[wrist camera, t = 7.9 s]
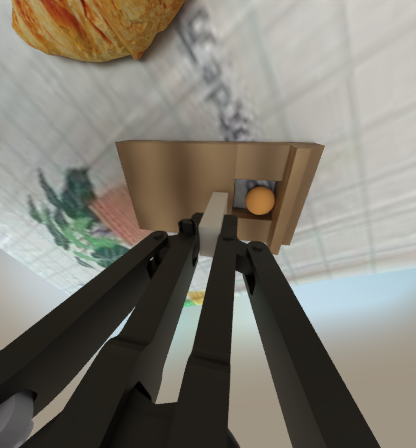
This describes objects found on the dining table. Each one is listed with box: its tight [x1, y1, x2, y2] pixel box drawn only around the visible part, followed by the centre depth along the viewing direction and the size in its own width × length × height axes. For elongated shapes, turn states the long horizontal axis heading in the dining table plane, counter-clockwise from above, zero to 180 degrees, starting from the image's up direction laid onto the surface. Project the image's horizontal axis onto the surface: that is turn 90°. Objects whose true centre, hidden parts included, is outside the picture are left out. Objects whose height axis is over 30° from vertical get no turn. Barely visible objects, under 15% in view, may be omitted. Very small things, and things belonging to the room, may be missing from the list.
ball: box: [245, 186, 275, 215], centre depth 18 cm, size 3×3×3 cm
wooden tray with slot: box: [115, 140, 325, 255], centre depth 18 cm, size 20×11×4 cm, turn 90°
